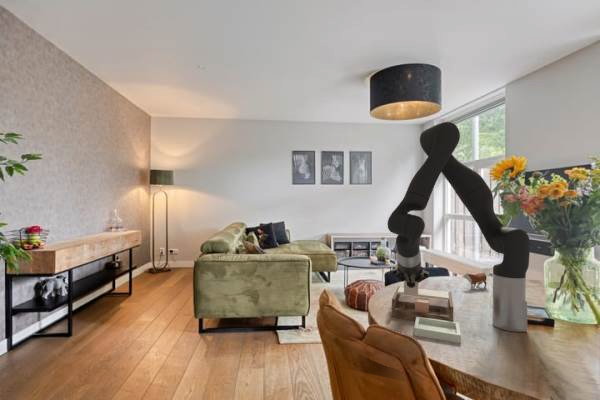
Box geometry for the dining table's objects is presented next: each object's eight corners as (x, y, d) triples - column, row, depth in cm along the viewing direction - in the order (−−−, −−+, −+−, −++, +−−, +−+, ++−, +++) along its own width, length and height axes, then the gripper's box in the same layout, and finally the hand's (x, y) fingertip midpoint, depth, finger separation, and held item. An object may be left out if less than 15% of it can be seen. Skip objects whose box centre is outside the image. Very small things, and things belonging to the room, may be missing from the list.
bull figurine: (460, 288, 156) (461, 271, 156) (482, 286, 160) (482, 270, 160) (468, 290, 152) (468, 273, 152) (489, 288, 156) (490, 271, 156)
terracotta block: (428, 312, 116) (429, 299, 116) (428, 316, 111) (428, 303, 111) (415, 310, 117) (415, 298, 117) (414, 314, 113) (415, 301, 113)
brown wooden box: (451, 308, 125) (451, 291, 125) (453, 326, 107) (453, 307, 107) (398, 301, 133) (398, 286, 133) (391, 317, 115) (391, 299, 115)
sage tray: (458, 329, 104) (458, 322, 104) (460, 343, 94) (460, 335, 94) (416, 323, 109) (416, 316, 109) (414, 335, 99) (414, 327, 99)
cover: (448, 294, 121) (448, 268, 121) (448, 300, 114) (449, 272, 114) (399, 288, 128) (400, 264, 128) (397, 294, 121) (397, 268, 121)
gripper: (430, 249, 107) (430, 278, 118) (389, 247, 112) (393, 275, 123) (429, 268, 102) (430, 296, 113) (387, 265, 107) (391, 292, 118)
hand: (411, 285), depth 118 cm, fingers closed
